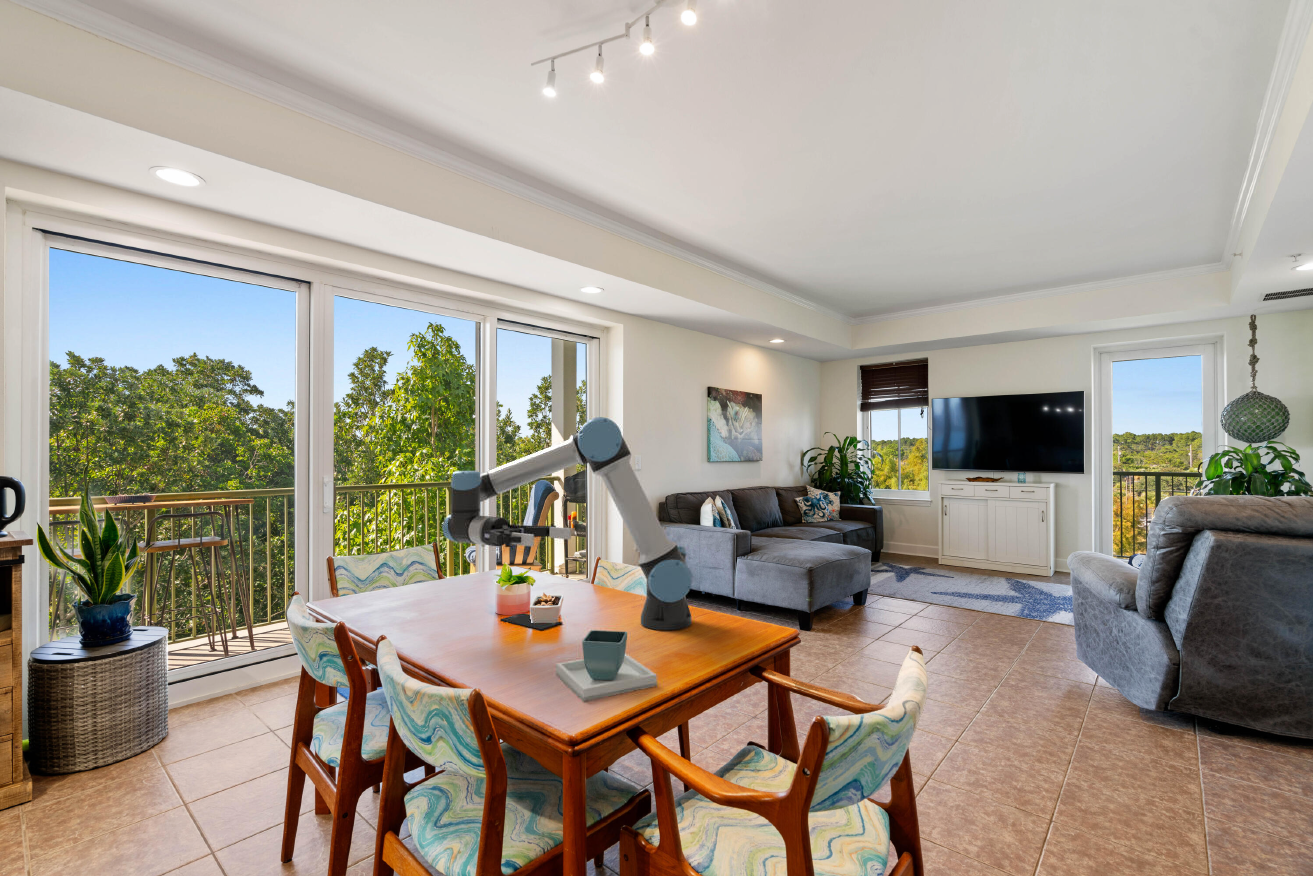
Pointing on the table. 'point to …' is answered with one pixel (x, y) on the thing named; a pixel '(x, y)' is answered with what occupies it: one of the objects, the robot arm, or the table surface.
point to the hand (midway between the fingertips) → (552, 537)
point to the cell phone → (528, 622)
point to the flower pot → (604, 653)
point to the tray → (588, 689)
